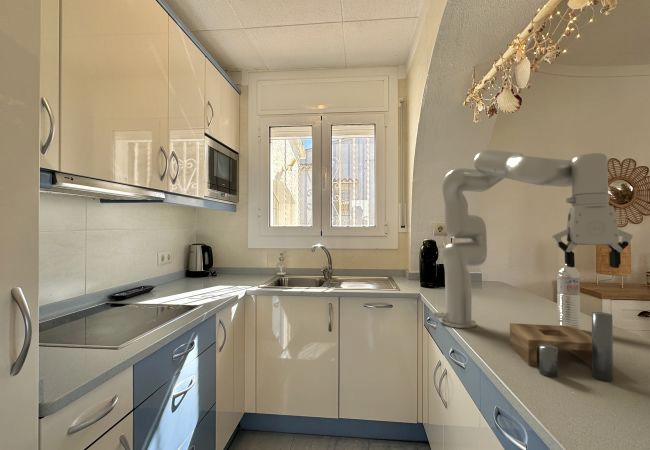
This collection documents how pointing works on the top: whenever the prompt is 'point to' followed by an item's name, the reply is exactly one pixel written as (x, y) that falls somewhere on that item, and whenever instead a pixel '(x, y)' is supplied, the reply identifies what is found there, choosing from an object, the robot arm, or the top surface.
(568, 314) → the water bottle
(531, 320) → the top surface
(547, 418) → the top surface
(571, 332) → the bridge
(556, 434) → the top surface
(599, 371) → the long pin
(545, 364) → the short pin
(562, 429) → the top surface
